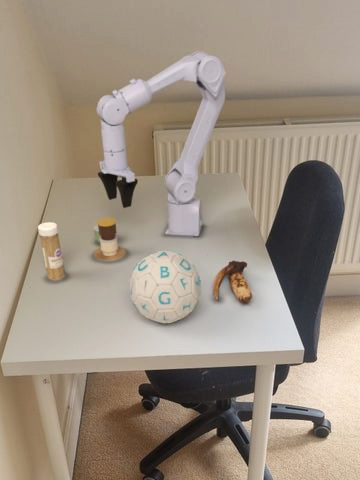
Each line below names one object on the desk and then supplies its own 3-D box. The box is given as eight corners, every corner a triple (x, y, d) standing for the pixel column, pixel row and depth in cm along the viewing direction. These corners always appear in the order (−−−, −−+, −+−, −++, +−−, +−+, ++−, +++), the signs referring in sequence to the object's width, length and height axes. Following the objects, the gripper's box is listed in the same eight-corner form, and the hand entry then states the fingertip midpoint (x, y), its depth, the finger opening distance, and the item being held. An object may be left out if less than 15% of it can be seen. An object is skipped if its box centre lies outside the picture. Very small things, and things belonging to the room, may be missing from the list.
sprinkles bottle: (60, 282, 144) (51, 229, 135) (44, 280, 145) (33, 228, 136) (68, 274, 147) (60, 222, 139) (52, 272, 148) (43, 220, 140)
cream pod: (120, 249, 156) (119, 234, 154) (116, 257, 153) (114, 241, 150) (103, 248, 157) (102, 233, 154) (99, 256, 153) (97, 240, 151)
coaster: (129, 249, 158) (129, 247, 157) (121, 262, 151) (121, 260, 151) (99, 247, 159) (99, 245, 159) (90, 261, 153) (90, 259, 152)
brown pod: (119, 234, 154) (117, 218, 151) (114, 241, 150) (113, 225, 147) (102, 233, 154) (100, 217, 152) (97, 240, 151) (95, 224, 148)
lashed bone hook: (207, 276, 145) (218, 311, 130) (206, 258, 142) (217, 292, 128) (244, 272, 145) (259, 307, 131) (244, 254, 142) (259, 288, 128)
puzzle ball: (199, 300, 135) (198, 237, 125) (202, 335, 123) (202, 269, 114) (133, 302, 135) (127, 240, 125) (130, 338, 123) (124, 272, 114)
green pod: (114, 238, 163) (112, 223, 161) (109, 245, 160) (108, 230, 157) (98, 238, 164) (96, 223, 161) (93, 245, 160) (91, 230, 158)
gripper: (87, 145, 151) (93, 198, 159) (115, 158, 141) (120, 214, 150) (110, 140, 154) (116, 192, 162) (140, 153, 144) (144, 207, 153)
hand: (119, 202), depth 156 cm, fingers open, 7 cm apart
